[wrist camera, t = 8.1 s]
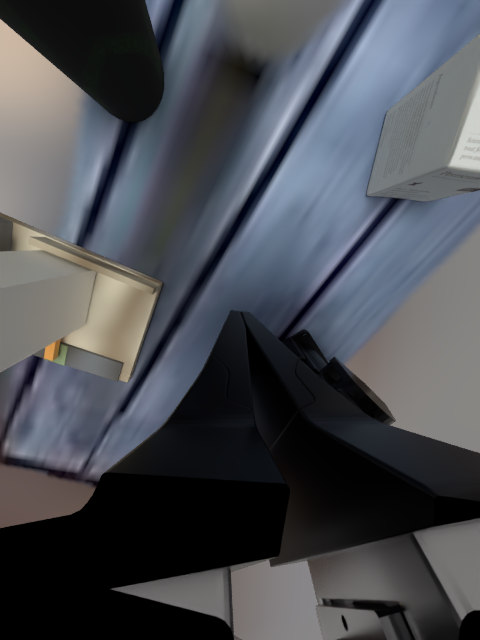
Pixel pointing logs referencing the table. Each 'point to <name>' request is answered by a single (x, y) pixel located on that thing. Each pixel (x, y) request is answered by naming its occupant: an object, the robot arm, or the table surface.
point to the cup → (96, 48)
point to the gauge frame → (96, 305)
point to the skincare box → (433, 135)
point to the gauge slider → (40, 303)
